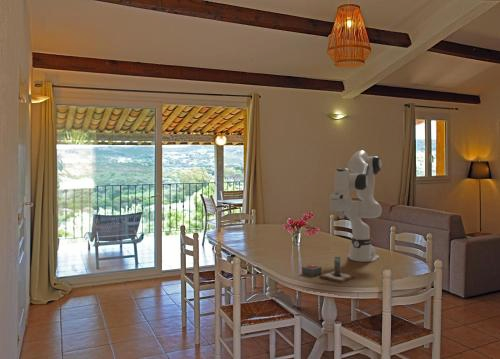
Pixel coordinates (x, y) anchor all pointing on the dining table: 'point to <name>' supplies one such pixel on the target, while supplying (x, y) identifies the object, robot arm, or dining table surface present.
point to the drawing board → (336, 277)
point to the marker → (337, 266)
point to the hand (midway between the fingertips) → (341, 218)
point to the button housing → (311, 270)
